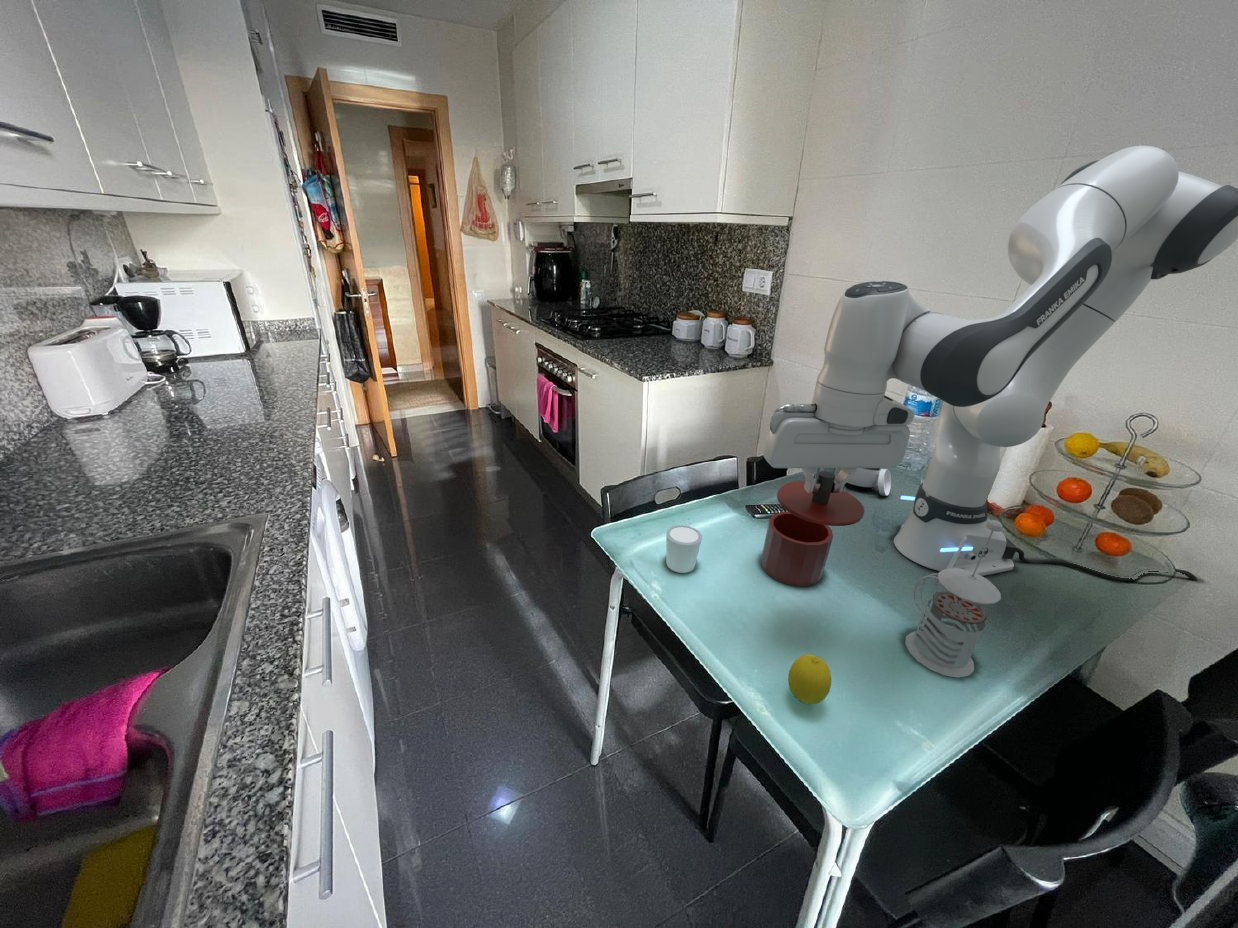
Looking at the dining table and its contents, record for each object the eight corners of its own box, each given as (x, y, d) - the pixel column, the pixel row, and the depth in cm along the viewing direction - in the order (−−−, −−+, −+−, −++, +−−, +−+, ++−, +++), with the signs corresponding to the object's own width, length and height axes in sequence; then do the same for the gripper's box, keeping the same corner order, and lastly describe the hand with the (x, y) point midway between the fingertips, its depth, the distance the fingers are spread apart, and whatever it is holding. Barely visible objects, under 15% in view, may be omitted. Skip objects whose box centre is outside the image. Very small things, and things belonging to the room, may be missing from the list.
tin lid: (836, 487, 83) (845, 456, 81) (879, 529, 72) (890, 494, 70) (764, 487, 82) (770, 456, 79) (796, 530, 71) (805, 495, 68)
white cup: (657, 557, 100) (660, 528, 97) (686, 550, 103) (690, 522, 100) (673, 578, 95) (677, 547, 92) (704, 570, 97) (709, 540, 94)
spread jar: (840, 474, 139) (850, 435, 134) (883, 480, 137) (895, 441, 132) (845, 493, 129) (857, 452, 124) (893, 501, 126) (906, 460, 121)
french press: (947, 685, 75) (1011, 547, 64) (882, 632, 84) (929, 504, 74) (988, 666, 79) (1056, 533, 68) (922, 617, 88) (972, 493, 77)
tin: (805, 549, 105) (815, 511, 101) (832, 585, 95) (844, 544, 91) (752, 550, 104) (760, 511, 100) (773, 587, 94) (783, 545, 89)
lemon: (826, 720, 68) (841, 678, 65) (785, 712, 69) (796, 670, 66) (820, 687, 73) (833, 647, 70) (781, 680, 74) (792, 640, 71)
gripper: (783, 411, 66) (764, 502, 72) (926, 413, 68) (896, 501, 74) (765, 396, 71) (749, 481, 77) (898, 398, 74) (873, 481, 80)
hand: (822, 491), depth 76 cm, fingers closed on tin lid, 2 cm apart
